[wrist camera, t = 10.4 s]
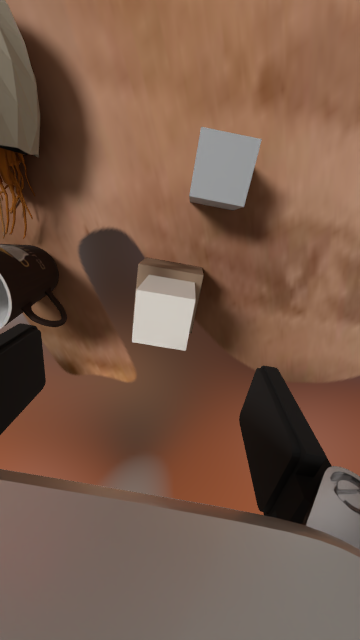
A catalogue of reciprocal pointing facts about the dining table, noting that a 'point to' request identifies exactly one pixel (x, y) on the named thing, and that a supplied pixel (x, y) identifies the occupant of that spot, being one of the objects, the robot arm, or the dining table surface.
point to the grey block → (223, 169)
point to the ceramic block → (163, 312)
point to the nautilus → (16, 111)
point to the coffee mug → (26, 283)
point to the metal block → (171, 275)
